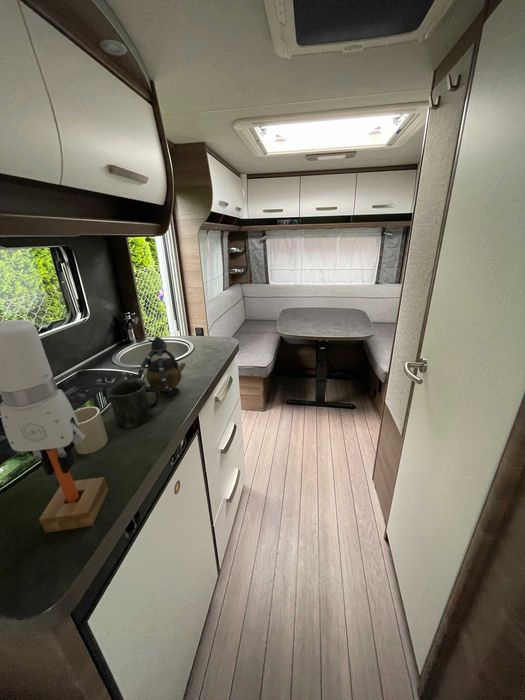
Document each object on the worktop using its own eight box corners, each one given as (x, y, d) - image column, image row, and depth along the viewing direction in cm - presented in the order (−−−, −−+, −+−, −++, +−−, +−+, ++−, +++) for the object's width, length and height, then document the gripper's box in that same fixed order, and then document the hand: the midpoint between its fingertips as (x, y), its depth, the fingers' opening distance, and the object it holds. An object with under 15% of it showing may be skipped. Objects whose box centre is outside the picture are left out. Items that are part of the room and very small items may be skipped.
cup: (70, 456, 76) (58, 426, 72) (83, 436, 83) (73, 408, 80) (101, 452, 77) (92, 422, 73) (112, 432, 84) (104, 405, 81)
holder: (45, 533, 56) (38, 519, 55) (67, 494, 64) (62, 482, 63) (92, 525, 57) (87, 512, 56) (108, 489, 65) (104, 476, 64)
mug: (118, 413, 94) (109, 382, 89) (163, 404, 98) (157, 374, 93) (112, 433, 84) (102, 399, 80) (162, 422, 88) (156, 390, 84)
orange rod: (65, 504, 58) (43, 452, 53) (70, 495, 60) (49, 444, 55) (76, 502, 59) (55, 450, 53) (81, 493, 61) (61, 442, 55)
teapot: (140, 407, 97) (125, 345, 88) (172, 373, 120) (162, 322, 111) (172, 409, 95) (160, 346, 86) (198, 375, 118) (191, 322, 109)
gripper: (-39, 406, 45) (4, 489, 52) (68, 397, 47) (95, 478, 54) (-5, 383, 52) (29, 460, 59) (87, 376, 54) (109, 451, 61)
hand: (61, 468), depth 56 cm, fingers closed on orange rod, 2 cm apart
